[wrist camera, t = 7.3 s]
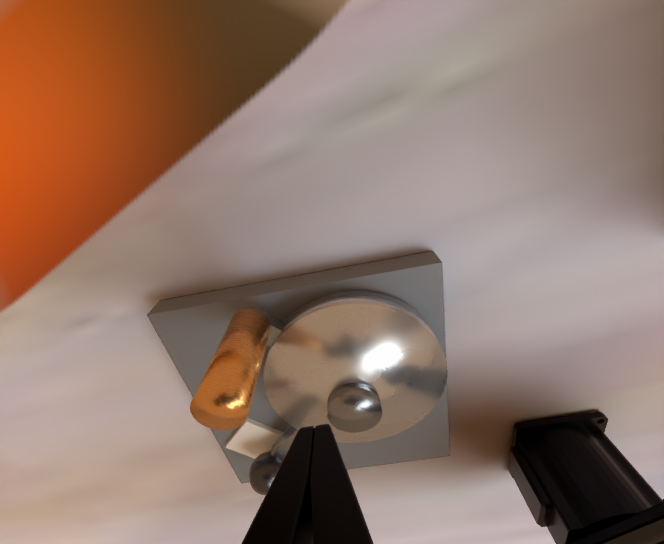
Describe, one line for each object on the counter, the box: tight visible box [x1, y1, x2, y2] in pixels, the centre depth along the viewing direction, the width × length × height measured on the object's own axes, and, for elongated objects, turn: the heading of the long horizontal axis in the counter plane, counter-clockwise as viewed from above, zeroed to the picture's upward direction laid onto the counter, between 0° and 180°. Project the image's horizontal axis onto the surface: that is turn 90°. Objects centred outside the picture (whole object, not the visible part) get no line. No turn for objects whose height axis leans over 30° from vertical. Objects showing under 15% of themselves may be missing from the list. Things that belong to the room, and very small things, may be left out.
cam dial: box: [190, 291, 447, 495], centre depth 16 cm, size 16×12×6 cm
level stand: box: [147, 251, 450, 483], centre depth 20 cm, size 16×16×2 cm
